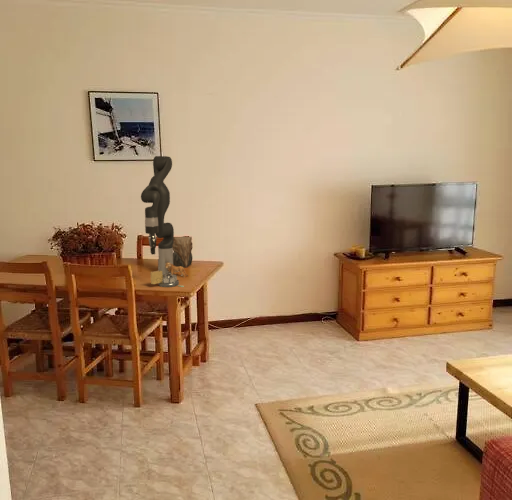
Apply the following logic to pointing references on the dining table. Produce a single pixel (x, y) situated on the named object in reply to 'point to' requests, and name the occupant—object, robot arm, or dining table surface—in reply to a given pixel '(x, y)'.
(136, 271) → the dining table surface
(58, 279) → the dining table surface
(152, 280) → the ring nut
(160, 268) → the robot arm
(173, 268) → the lion figurine
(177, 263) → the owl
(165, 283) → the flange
